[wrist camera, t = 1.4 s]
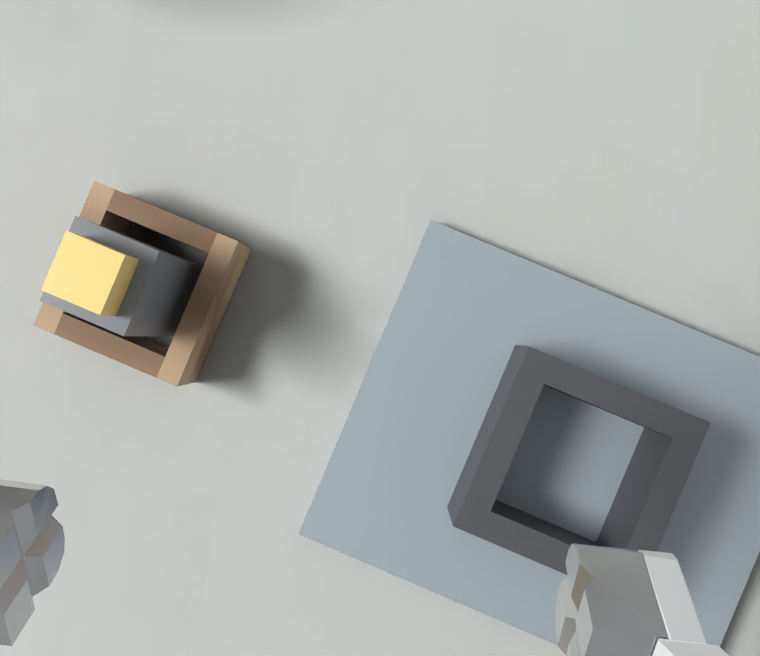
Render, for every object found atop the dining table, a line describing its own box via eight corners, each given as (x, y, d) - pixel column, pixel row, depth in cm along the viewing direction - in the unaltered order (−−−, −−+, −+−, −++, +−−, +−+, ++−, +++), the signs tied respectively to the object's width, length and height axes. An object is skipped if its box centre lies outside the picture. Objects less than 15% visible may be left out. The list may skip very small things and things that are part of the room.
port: (687, 693, 35) (730, 746, 30) (301, 528, 35) (287, 556, 31) (816, 384, 35) (879, 391, 30) (429, 223, 35) (435, 206, 31)
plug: (177, 336, 35) (108, 336, 27) (109, 307, 35) (19, 298, 27) (206, 268, 35) (146, 246, 27) (138, 239, 35) (57, 209, 27)
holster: (195, 381, 35) (177, 386, 32) (64, 326, 35) (33, 325, 32) (251, 249, 35) (238, 241, 32) (119, 193, 35) (94, 180, 32)
